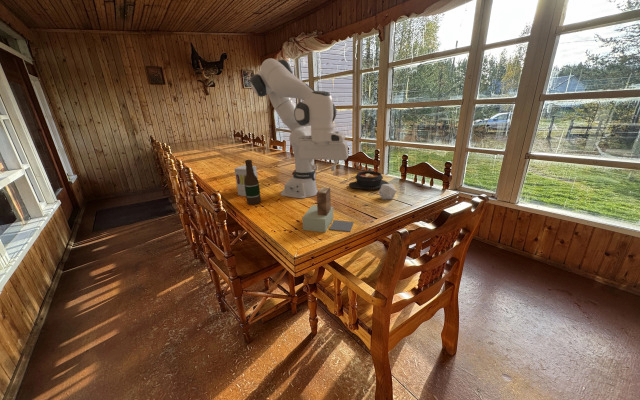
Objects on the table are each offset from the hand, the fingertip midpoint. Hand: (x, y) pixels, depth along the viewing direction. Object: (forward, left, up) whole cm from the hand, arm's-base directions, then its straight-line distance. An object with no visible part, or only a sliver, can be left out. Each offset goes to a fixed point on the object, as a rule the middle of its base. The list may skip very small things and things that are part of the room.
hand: (323, 170), depth 105 cm
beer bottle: (-46, +18, -25) cm, 55 cm away
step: (-3, 0, -25) cm, 25 cm away
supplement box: (-57, +31, -25) cm, 70 cm away
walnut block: (0, 0, -19) cm, 19 cm away
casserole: (+13, +57, -25) cm, 64 cm away
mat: (+8, 0, -25) cm, 26 cm away
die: (+25, +38, -25) cm, 52 cm away
